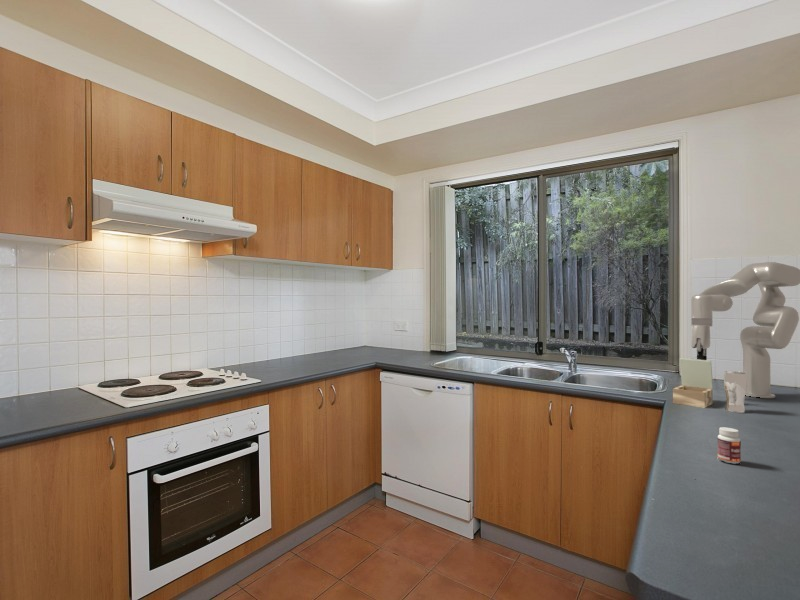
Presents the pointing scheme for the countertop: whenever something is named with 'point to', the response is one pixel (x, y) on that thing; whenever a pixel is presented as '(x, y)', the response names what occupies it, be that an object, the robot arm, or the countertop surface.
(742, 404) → the beer glass
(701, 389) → the light wooden box
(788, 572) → the countertop surface
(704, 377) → the box lid
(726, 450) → the pill bottle
